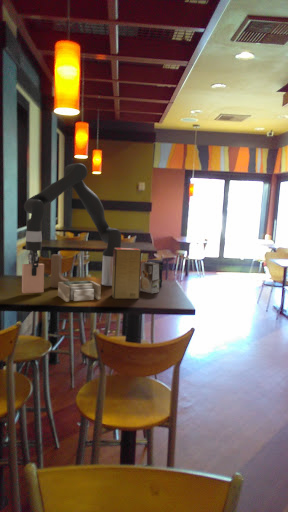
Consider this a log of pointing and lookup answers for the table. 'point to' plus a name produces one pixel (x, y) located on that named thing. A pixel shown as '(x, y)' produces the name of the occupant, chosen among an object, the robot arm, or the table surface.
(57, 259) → the wooden block
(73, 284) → the offcut rack
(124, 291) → the food packaging
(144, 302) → the table surface
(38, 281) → the pink rectangular block
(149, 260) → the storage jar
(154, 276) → the coffee box
